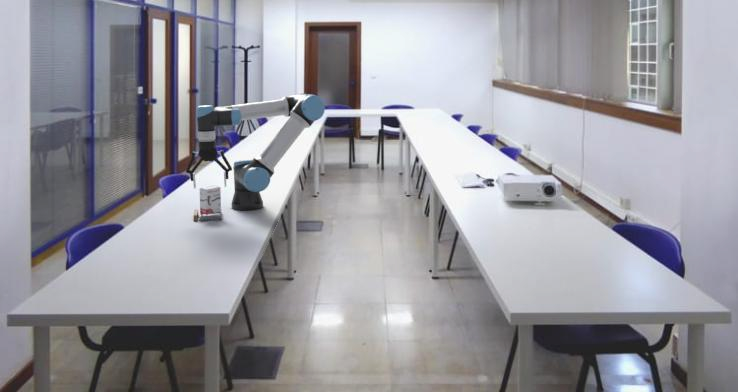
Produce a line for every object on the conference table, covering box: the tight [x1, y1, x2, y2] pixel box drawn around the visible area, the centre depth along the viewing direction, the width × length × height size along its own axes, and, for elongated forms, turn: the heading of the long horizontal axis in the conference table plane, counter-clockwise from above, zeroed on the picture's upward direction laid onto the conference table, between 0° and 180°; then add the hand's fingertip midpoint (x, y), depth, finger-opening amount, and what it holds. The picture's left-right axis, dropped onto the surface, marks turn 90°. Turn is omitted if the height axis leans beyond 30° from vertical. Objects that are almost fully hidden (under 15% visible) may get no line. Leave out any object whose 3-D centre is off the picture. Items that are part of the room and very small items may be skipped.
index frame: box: [198, 210, 222, 222], centre depth 323 cm, size 10×14×2 cm
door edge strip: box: [192, 209, 199, 222], centre depth 322 cm, size 2×12×2 cm, turn 11°
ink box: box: [199, 185, 222, 215], centre depth 322 cm, size 9×5×12 cm, turn 141°
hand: (210, 187), depth 321 cm, fingers open, 13 cm apart
